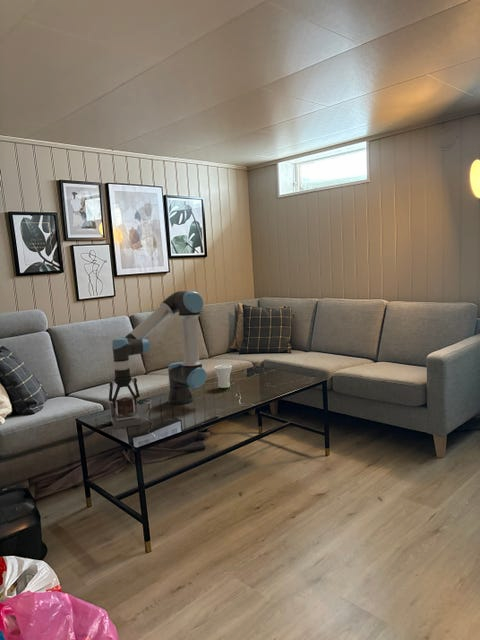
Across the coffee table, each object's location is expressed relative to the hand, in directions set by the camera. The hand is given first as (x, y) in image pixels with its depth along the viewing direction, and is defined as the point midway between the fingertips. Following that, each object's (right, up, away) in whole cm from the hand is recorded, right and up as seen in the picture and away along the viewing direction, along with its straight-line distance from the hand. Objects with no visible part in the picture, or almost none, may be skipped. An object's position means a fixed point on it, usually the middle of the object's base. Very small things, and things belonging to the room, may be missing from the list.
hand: (125, 412), depth 242 cm
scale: (0, -6, +2) cm, 6 cm away
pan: (0, -2, 0) cm, 2 cm away
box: (0, -1, 0) cm, 1 cm away
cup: (+48, +3, +64) cm, 80 cm away
